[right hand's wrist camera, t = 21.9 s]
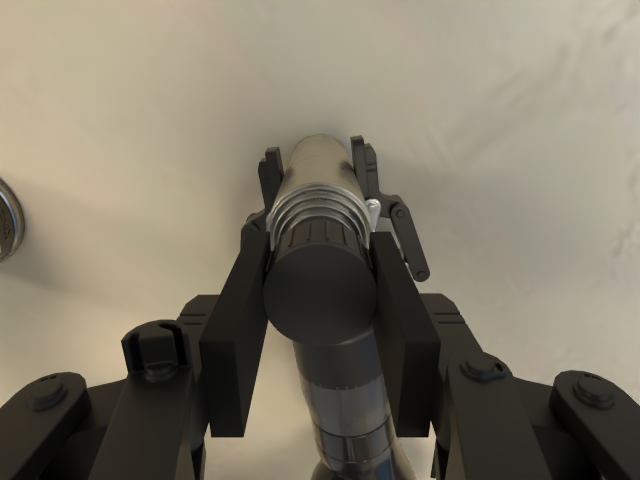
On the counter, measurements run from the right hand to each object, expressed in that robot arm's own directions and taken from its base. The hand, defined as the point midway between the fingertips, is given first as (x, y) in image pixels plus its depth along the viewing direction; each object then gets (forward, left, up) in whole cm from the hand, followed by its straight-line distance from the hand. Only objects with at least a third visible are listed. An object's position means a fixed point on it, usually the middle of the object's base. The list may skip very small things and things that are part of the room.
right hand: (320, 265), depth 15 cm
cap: (0, 0, +2) cm, 2 cm away
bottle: (0, 0, -19) cm, 19 cm away
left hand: (-1, +2, -13) cm, 13 cm away
